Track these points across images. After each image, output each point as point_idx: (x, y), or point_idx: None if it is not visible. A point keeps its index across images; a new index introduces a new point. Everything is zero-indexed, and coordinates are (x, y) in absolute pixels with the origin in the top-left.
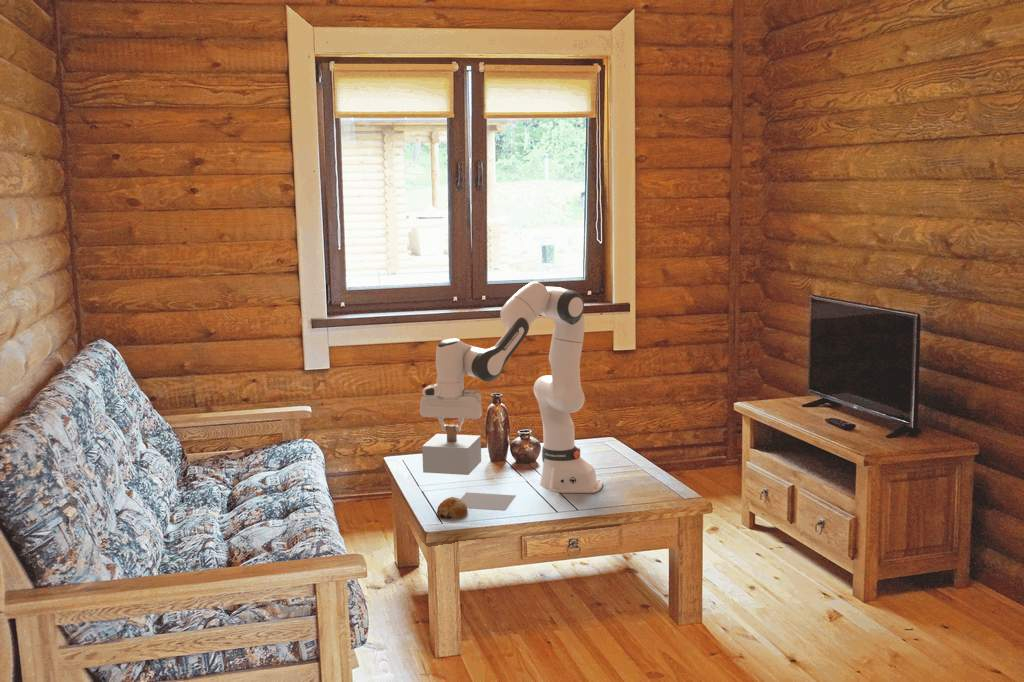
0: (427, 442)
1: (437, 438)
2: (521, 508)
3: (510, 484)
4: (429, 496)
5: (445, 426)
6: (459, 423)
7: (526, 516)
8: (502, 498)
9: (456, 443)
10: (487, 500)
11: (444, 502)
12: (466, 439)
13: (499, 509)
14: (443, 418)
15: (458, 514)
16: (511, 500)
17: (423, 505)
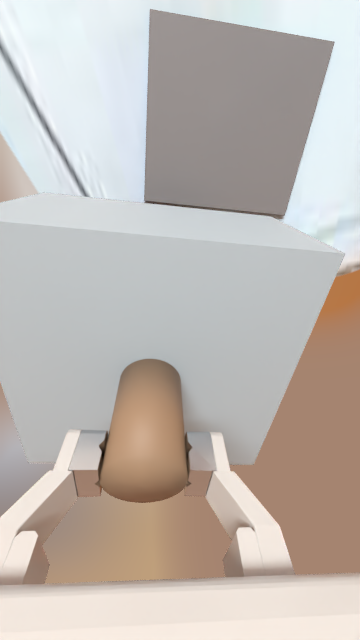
0: (20, 419)
1: (35, 349)
2: (328, 175)
3: None
4: (25, 64)
5: (97, 490)
6: (227, 530)
7: (330, 238)
8: (283, 90)
9: (189, 419)
10: (235, 120)
11: None
12: (238, 352)
13: (270, 207)
14: (38, 559)
15: None
16: (310, 112)
17: (50, 175)
